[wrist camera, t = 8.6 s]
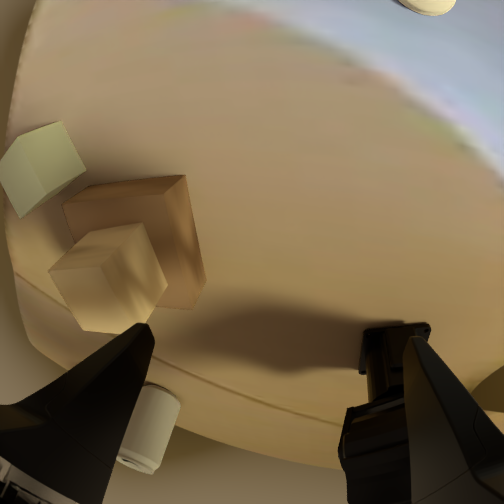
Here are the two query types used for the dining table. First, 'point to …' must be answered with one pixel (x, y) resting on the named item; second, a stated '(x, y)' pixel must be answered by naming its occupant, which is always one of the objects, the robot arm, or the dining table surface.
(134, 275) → the oak cube
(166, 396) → the beverage can
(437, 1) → the chess piece
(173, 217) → the pedestal
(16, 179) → the sage block
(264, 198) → the dining table surface
